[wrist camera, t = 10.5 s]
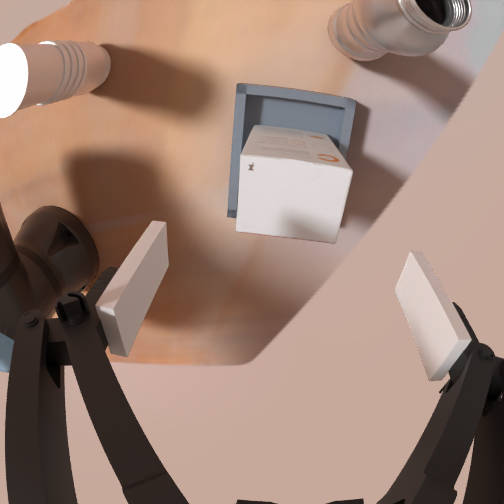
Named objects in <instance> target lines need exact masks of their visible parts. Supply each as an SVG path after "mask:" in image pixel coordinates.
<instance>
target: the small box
mask: <svg viewBox="0 0 504 504" xmlns="http://www.w3.org/2000/svg"><path fill="white" fill-rule="evenodd" d="M352 176H353V170H352V169H351V167H350V166H349V164H348V163H347V162H346V160H345V159H344V157H343V156H342V154H341V153H340V152H339V150H338V149H337V147H336V146H335V145H334V143H333V142H332V141H331V139H330V138H329V136H328V135H327V134H324V133H319V132H313V131H306V130H300V129H292V128H284V127H276V126H267V125H254V127H253V129H252V131H251V133H250V135H249V137H248V140H247V142H246V144H245V146H244V148H243V151H242V153H241V155H240V173H239V190H238V207H237V222H236V232H242V233H251V234H259V235H268V236H277V237H285V238H293V239H301V240H310V241H318V242H325V243H333V244H335V243H336V240H337V236H338V232H339V228H340V225H341V221H342V217H343V213H344V209H345V205H346V201H347V197H348V193H349V189H350V185H351V180H352Z"/></svg>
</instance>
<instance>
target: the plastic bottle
mask: <svg viewBox="0 0 504 504" xmlns="http://www.w3.org/2000/svg"><path fill="white" fill-rule="evenodd" d="M471 13H472V8H471V3H470V0H353V2H352V3H349V4H346V5H343V6H341V7H340V8H338V9H337V10H336V11H334V12H333V14H332V15H331V17H330V19H329V22H328V34H329V37H330V40H331V42H332V44H333V45H334V46H335V48H336V49H337V50H338V51H340V52H341V53H342V54H344V55H345V56H347V57H349V58H352V59H354V60H359V61H373V60H376V59H379V58H380V57H382V56H384V55H385V54H387V53H388V52H390V53H394V54H397V55H403V56H412V57H414V56H423V55H427V54H430V53H431V52H433V51H435V50H436V49H437V48H438V47H440V46H441V45H442V44H443V43H444V42H445V40H446V38H447V37H448V34H449V32H451V31H454V30H459V29H461V28H463V27H464V26H466V25H467V24H468V22H469V20H470V18H471Z"/></svg>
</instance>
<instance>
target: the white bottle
mask: <svg viewBox="0 0 504 504" xmlns="http://www.w3.org/2000/svg"><path fill="white" fill-rule="evenodd" d="M110 67H111V60H110V56H109V53H108V52H107V51H106V49H105V48H103V47H102V46H99V45H96V44H95V43H93V42H89V41H84V42H76V41H72V40H67V41H66V40H61V41H60V40H54V41H52V40H48V41H43V42H41V43H38V44H28V45H19V44H15V43H8V44H4V45H2V46H1V47H0V118H5V117H8V116H10V115H13V114H14V113H15V112H16V111H17V110H20V109H23V108H27V107H30V106H33V105H37V106H44V105H47V104H51V103H54V102H58V101H61V100H65V99H68V98H71V97H73V96H77V95H83V94H87V93H89V92H90V91H92V90H93V89H95V88H97V87H99V86H100V85H101V84H102V83H103V82H104V81H105V80H106V78H107V77H108V74H109V72H110Z"/></svg>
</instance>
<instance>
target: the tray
mask: <svg viewBox="0 0 504 504" xmlns="http://www.w3.org/2000/svg"><path fill="white" fill-rule="evenodd" d="M355 107H356V100H354V99H351V98H346V97H341V96H336V95H330V94H325V93H319V92H313V91H306V90H299V89H292V88H284V87H276V86H267V85H257V84H245V83H238V84H237V88H236V100H235V112H234V125H233V138H232V152H231V166H230V181H229V197H228V214H227V217H231V218H237V207H238V190H239V173H240V155H241V153H242V151H243V148H244V146H245V144H246V142H247V140H248V137H249V135H250V133H251V131H252V129H253V127H254V125H267V126H276V127H284V128H292V129H300V130H306V131H313V132H319V133H324V134H327V135H328V136H329V138H330V139H331V141H332V142H333V143H334V145H335V146H336V147H337V149H338V150H339V152H340V153H341V154H342V156H343V157H344V159H345V160H346V158H347V153H348V147H349V142H350V136H351V131H352V125H353V119H354V113H355Z"/></svg>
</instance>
